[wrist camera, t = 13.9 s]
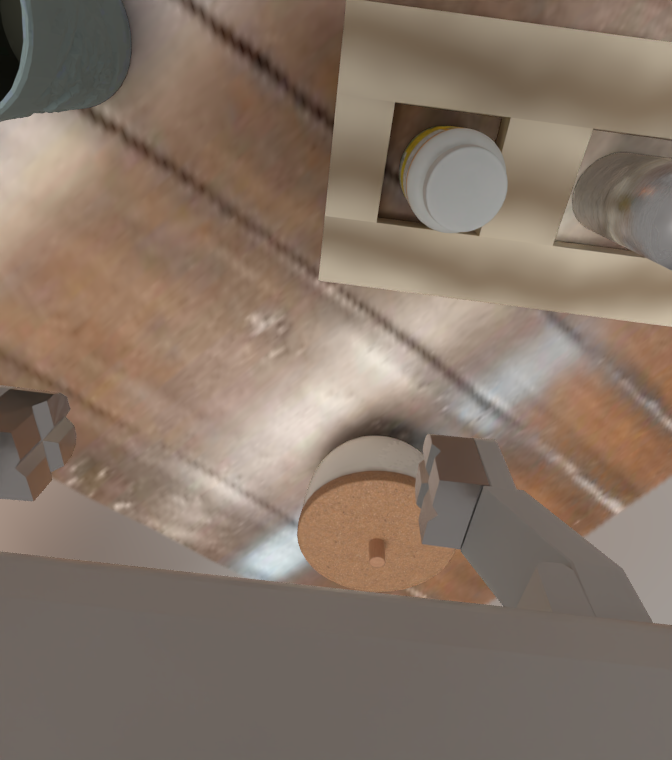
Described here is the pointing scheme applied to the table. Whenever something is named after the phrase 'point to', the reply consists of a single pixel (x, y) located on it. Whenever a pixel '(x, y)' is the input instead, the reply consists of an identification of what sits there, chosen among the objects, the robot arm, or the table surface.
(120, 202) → the table surface
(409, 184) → the supplement bottle
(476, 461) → the robot arm
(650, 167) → the steel pin
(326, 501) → the lidded bowl
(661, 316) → the pin board
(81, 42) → the blue-grey cup
